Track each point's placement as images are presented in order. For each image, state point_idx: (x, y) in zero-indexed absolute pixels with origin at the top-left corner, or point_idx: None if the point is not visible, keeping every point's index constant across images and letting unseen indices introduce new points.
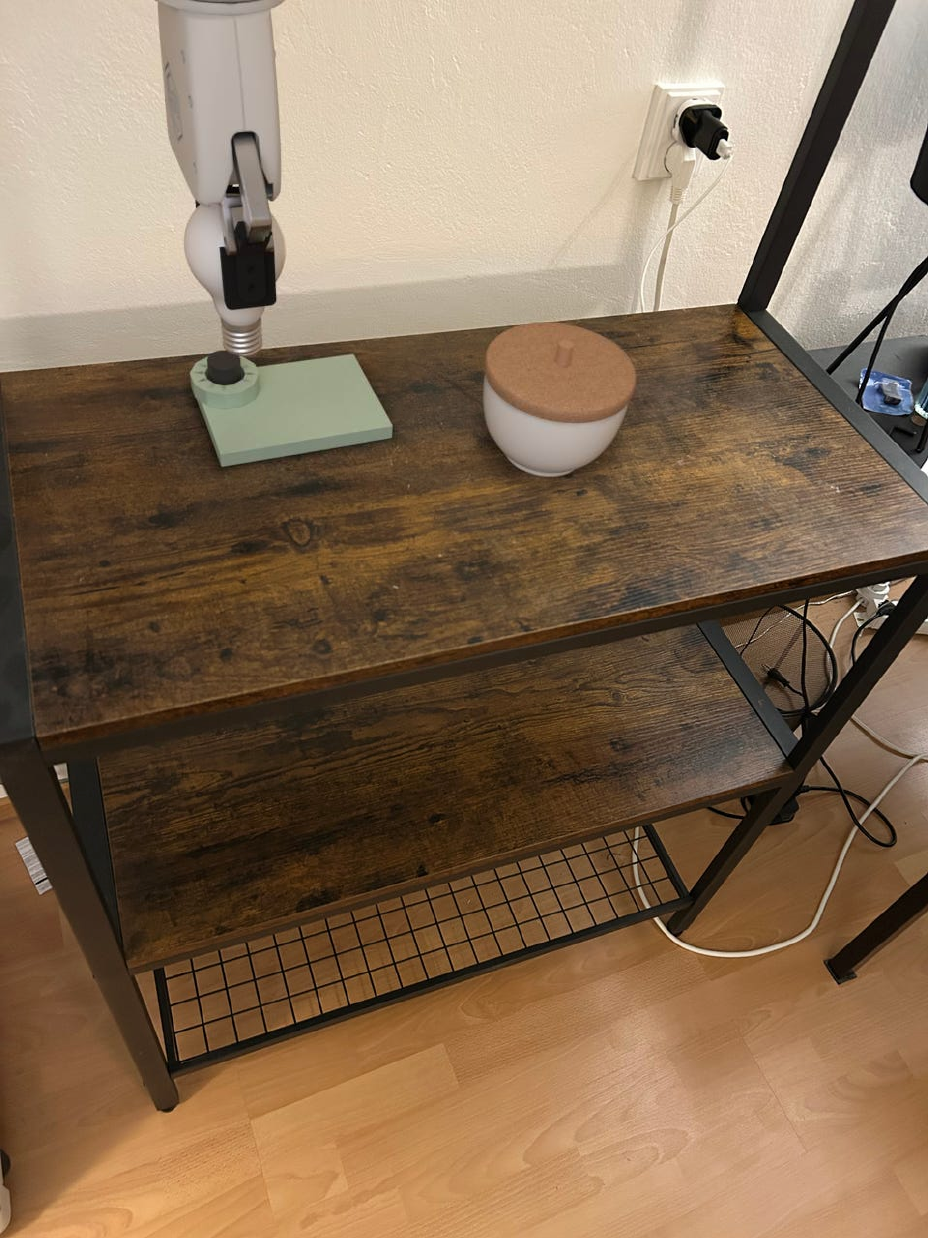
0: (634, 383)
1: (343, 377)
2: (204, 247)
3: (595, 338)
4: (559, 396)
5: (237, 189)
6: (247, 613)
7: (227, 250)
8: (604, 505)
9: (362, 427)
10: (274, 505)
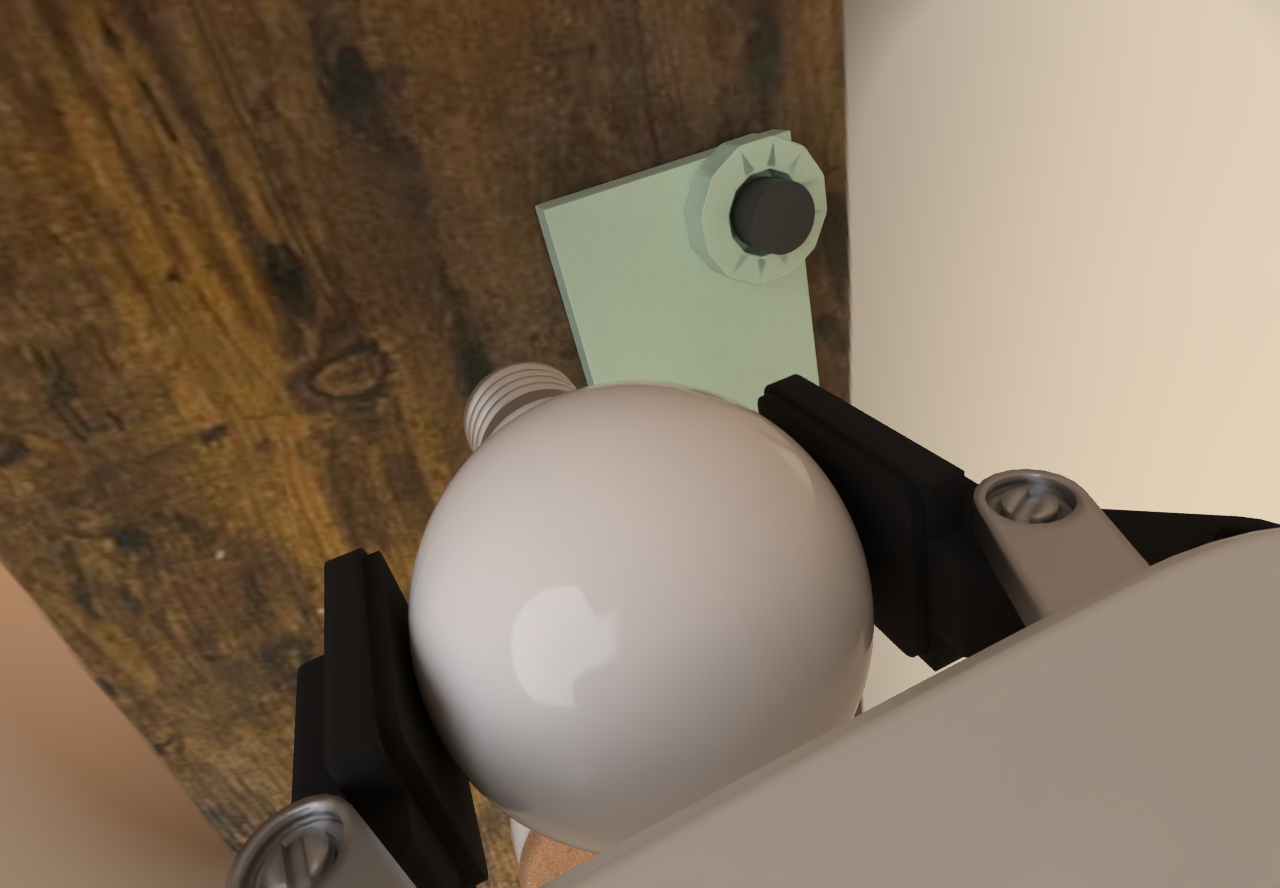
0: None
1: None
2: (481, 589)
3: None
4: (561, 874)
5: (937, 644)
6: (68, 293)
7: (308, 814)
8: (474, 801)
9: None
10: (425, 320)
